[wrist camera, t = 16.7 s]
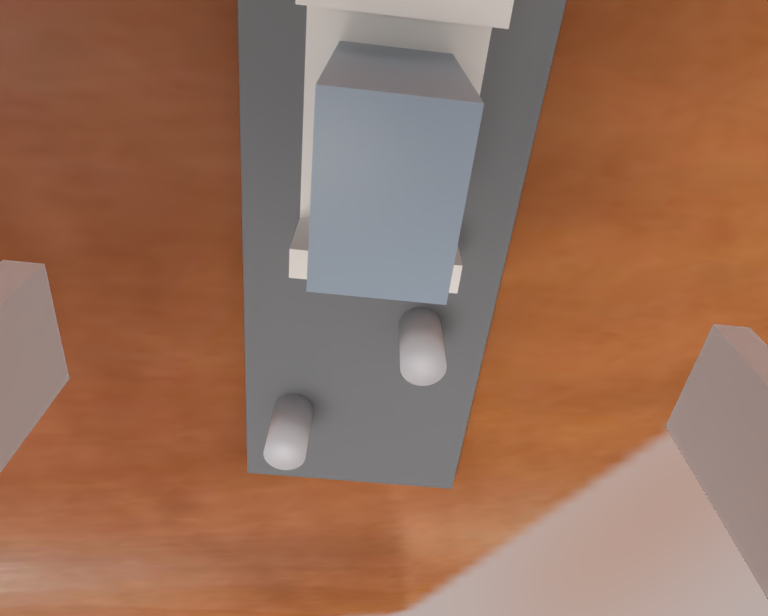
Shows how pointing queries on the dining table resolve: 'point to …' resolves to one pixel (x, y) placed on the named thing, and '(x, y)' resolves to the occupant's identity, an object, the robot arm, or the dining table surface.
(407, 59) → the light blue rectangular block
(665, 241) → the dining table surface
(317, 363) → the board
